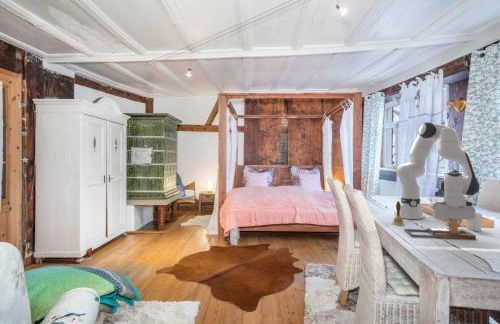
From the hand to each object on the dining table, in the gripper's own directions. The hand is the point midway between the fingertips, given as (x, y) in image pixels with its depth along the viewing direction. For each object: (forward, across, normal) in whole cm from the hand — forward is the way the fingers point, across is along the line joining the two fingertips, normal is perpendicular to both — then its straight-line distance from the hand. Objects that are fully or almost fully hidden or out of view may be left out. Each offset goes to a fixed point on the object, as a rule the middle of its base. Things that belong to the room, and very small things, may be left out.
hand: (453, 226), depth 158 cm
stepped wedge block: (+5, 0, 0) cm, 5 cm away
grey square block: (+5, -9, 0) cm, 10 cm away
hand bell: (+6, -22, +22) cm, 31 cm away
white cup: (+6, +20, +18) cm, 27 cm away
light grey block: (+5, -5, 0) cm, 7 cm away
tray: (+6, -17, 0) cm, 18 cm away
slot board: (+6, -2, 0) cm, 6 cm away
